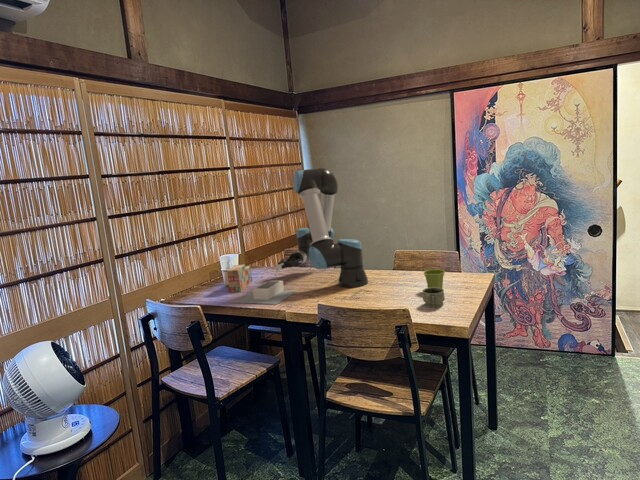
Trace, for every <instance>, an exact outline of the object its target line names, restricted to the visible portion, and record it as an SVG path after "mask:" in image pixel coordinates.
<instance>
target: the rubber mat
mask: <svg viewBox="0 0 640 480" xmlns="http://www.w3.org/2000/svg"><path fill="white" fill-rule="evenodd" d="M294 293H295V294H296V293H298V291H295V290H284V291H282V292H280V293H278V294H277V295H275V296H273V297H272V298H270V299H268V300H259V299H254V297H253V291H252V292H250V293H248V294H247V295H245V296H242V297H241V298H239V299H237V300H235V301H234V302H233V303H234V304H252V303H261V304H260V305H272V304H277V305H279V304H280V303H282V302H284V301H285V300H287V299H288V298H290V297H291V296H293V295H295V294H294ZM286 298H287V299H286ZM281 301H282V302H281ZM278 303H279V304H278Z"/></svg>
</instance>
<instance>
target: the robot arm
mask: <svg viewBox="0 0 640 480" xmlns="http://www.w3.org/2000/svg"><path fill="white" fill-rule="evenodd" d="M292 187H293V191H294V193H295V194H298V196H299V198H300V199H302V201H303V205H304V210H305V214H306V219H307V222H308V227H300V228H298V229H297V230H296V242H297V251H294V252H293V253H291V254H290V255H289V257H288V258H286V259H284V258H281V260H280V261H278V262H277V265H275V270H276V272H280V271H282V270H283V269H285V268H286V269H287V268H289V269H290V268H292V267H298V266H301V265H303V264H304V263H305V262H308V261H310V262H311V265H312V267H314V268H315V269H317V270H323V269H324V270H325V269H329V268H335V267H340V272H339V277H338V286H340V287H342V288H357V287H362V286H366V285H367V284H369V278H368V276H367V274H366V270H365V268H364V262H363V247H362V242H361V241H360V240H359V239H354V238H340V239H338V240H337V242H336V243H334V239H335V232H334V229H333V228H332V221H333V220H332V219H333V214H334V204H335V199H336V198H335V197H336V195H337V193H338V188H339V186H338V180H337V178H336V176H335V174H334V173H333V172H332V171H331V170H330V169H328V168H325V167H319V168H310V169H302V170H301V169H300V170H296V171H295V172H294V174H293V179H292ZM320 195H321V196H320Z"/></svg>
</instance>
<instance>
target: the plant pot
mask: <svg viewBox="0 0 640 480" xmlns="http://www.w3.org/2000/svg"><path fill="white" fill-rule="evenodd" d="M445 273H446V271H445V270H444V269H436V268H435V269H428V270H424V272H423V275H424V277H425V280H426V285H427V288H430V287H437V288H442V289H443V286H444V284H443V283H444V276H445Z"/></svg>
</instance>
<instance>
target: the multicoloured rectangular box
mask: <svg viewBox="0 0 640 480" xmlns="http://www.w3.org/2000/svg"><path fill="white" fill-rule="evenodd" d="M226 273H227V280H228V288H229V293H239V292H240V293H241V292H242V291H243V290H245V289H246V288H247V287H248V286H249V285H250V284H251V283H252V282H253V274H252V269H251V265H245V264H235V265H232V267H230V268H229V269H227V270H226Z"/></svg>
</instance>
